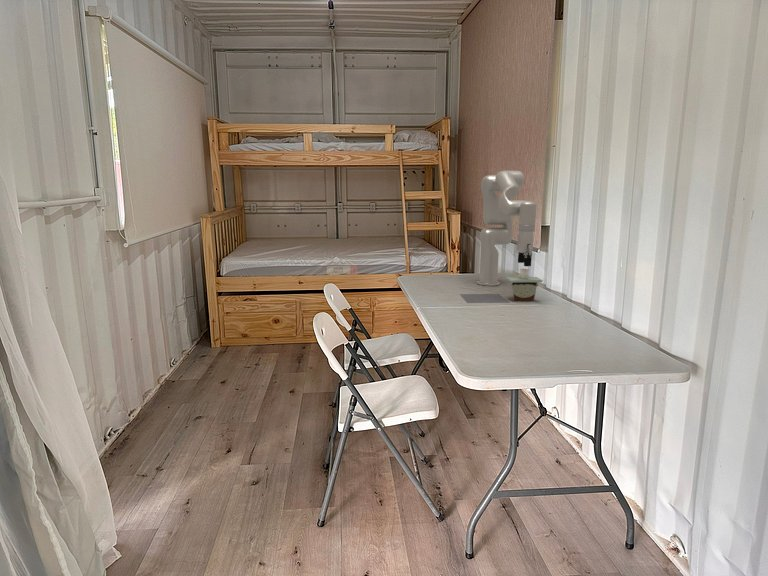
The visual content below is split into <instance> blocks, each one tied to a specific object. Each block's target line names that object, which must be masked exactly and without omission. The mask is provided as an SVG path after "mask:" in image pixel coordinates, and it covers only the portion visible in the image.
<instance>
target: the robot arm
mask: <svg viewBox="0 0 768 576" xmlns="http://www.w3.org/2000/svg"><path fill="white" fill-rule="evenodd" d="M524 175H525V174H524V173H523V172H522V171H520V170H501V171H499V172H497V173H496V174H488V175H485V176H484V177H483V178H482V179H481V182H480V189H481V194H482V199H483V215H482V216H483V223H484V224H485V225H488V226H489V225H490V226H491V227H485V228H482V229H481V230H480V233H479V238H480V249H481V250H480V275H479V280H477V283H476V284H478V285H481V286H487V287H490V286H491V287H493V286H494V287H495V286H500V284H501V282H500V281H498V279H499V278H498V276H499V275H498V274H499V251H498V248H497V247H496V246H497V245H499V246H500V245H504V246H505V245H509V244H511V242H512V240H513V224H514V223H513V222H514V220H513V219H514V217H518V227H517V232H518V236H517V241H516V243H517V244H516V251H517V252H518V254H517V255H518V256H517V263H519V264H523V266H524V267H531V266H532V259H533V257H532V255H533V249H534V233H535V232H536V218H537V203H536V202H535V201H530V200H526V199H525V200H523V199H522V200H519V199H517V200H513V199H515V198H516V197H518V195H519V194H520V191H521V189H520V188H522V187H523V185H524V184H525V176H524ZM497 192H501V194H500V196H498V194H497ZM492 225H493V226H494V227H493V226H492ZM496 226H501V227H496Z"/></svg>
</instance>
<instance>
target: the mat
mask: <svg viewBox="0 0 768 576" xmlns="http://www.w3.org/2000/svg"><path fill="white" fill-rule="evenodd" d="M459 295H460V297H461V298H462V299H463V300H464V301H465V302H466V303H467V304H511V303H510V302H509V300H507V299H506V298H505V297H503V296H502V295H501V294H500V293H459Z"/></svg>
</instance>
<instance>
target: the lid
mask: <svg viewBox="0 0 768 576" xmlns="http://www.w3.org/2000/svg"><path fill="white" fill-rule="evenodd" d="M529 270H530V269H528V268H520V269H519V276H505V280H506V281H508V282H509V283H512V282H537V283H543V281H544V280H543V279H542V278H539V277H538V276H529V272H530V271H529Z"/></svg>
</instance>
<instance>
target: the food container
mask: <svg viewBox="0 0 768 576" xmlns="http://www.w3.org/2000/svg"><path fill="white" fill-rule="evenodd" d="M538 283H539V282H511V284H510V286H512V296H513V297H512V298H513V299H512V300H513V302H535V298H536V291H537V287H539V285H538Z"/></svg>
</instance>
